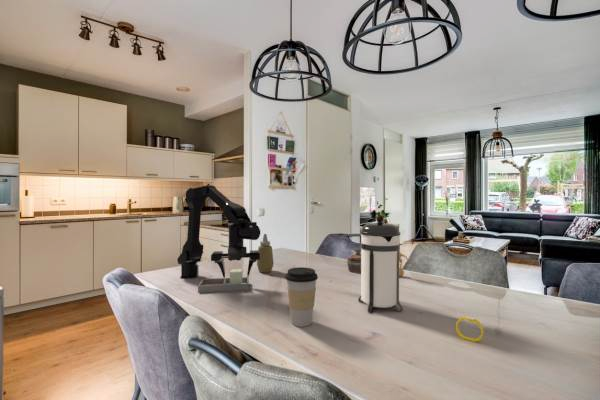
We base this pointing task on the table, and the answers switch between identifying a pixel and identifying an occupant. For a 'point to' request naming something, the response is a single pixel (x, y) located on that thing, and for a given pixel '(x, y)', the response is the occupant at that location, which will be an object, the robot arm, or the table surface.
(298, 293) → the coffee cup
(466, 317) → the yellow ring
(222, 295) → the table surface
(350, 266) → the cupcake
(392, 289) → the coffee press
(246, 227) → the robot arm
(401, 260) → the figurine
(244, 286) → the board
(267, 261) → the squeeze bottle
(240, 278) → the sage block
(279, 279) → the table surface
